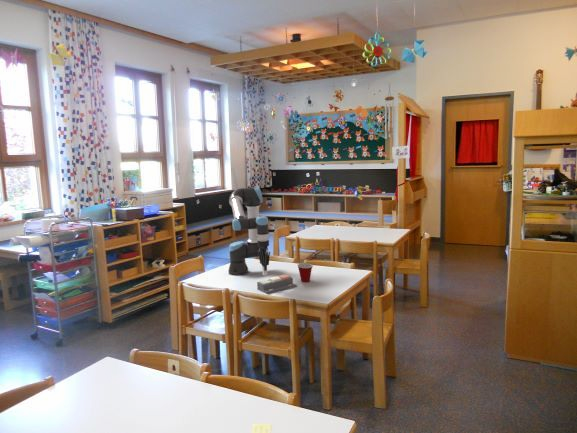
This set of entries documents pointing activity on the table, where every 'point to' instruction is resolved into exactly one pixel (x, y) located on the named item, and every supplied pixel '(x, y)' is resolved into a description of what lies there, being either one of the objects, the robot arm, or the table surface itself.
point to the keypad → (276, 286)
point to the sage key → (265, 282)
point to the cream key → (274, 279)
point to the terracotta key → (284, 277)
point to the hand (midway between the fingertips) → (264, 274)
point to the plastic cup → (305, 271)
